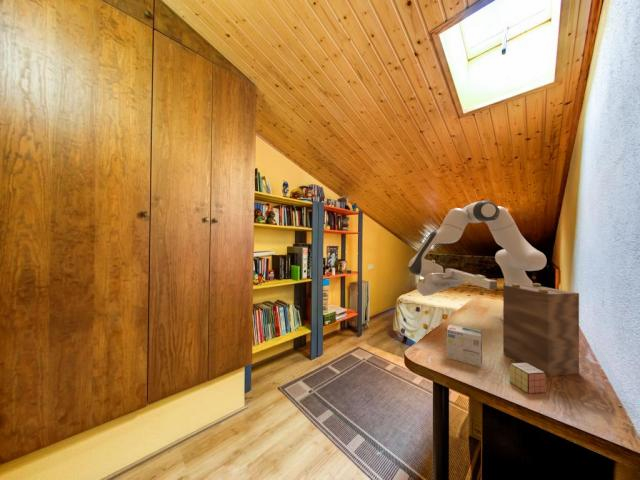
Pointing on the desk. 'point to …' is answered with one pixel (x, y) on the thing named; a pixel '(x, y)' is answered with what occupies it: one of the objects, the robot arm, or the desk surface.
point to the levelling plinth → (542, 328)
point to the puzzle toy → (527, 377)
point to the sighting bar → (473, 279)
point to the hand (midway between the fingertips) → (456, 273)
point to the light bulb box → (464, 345)
